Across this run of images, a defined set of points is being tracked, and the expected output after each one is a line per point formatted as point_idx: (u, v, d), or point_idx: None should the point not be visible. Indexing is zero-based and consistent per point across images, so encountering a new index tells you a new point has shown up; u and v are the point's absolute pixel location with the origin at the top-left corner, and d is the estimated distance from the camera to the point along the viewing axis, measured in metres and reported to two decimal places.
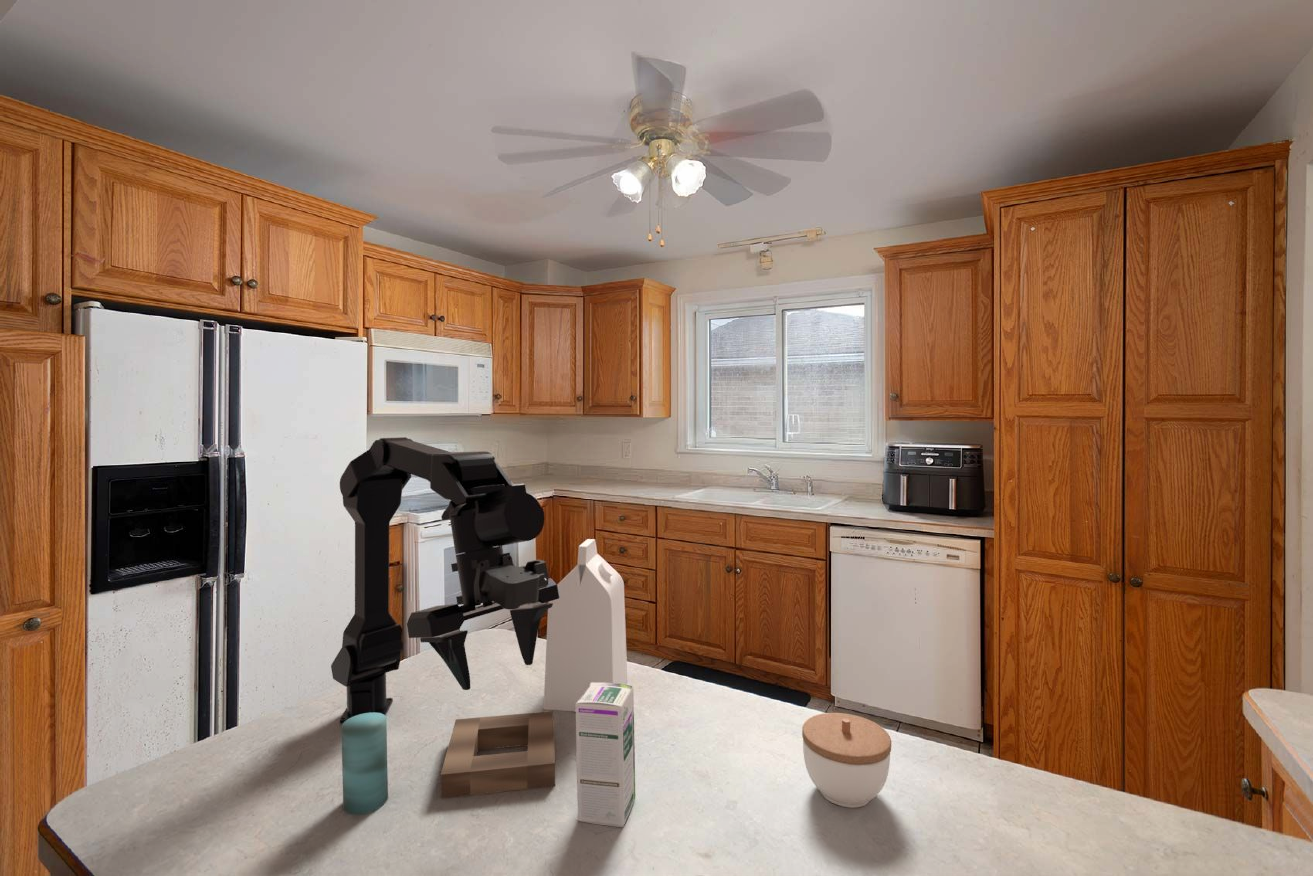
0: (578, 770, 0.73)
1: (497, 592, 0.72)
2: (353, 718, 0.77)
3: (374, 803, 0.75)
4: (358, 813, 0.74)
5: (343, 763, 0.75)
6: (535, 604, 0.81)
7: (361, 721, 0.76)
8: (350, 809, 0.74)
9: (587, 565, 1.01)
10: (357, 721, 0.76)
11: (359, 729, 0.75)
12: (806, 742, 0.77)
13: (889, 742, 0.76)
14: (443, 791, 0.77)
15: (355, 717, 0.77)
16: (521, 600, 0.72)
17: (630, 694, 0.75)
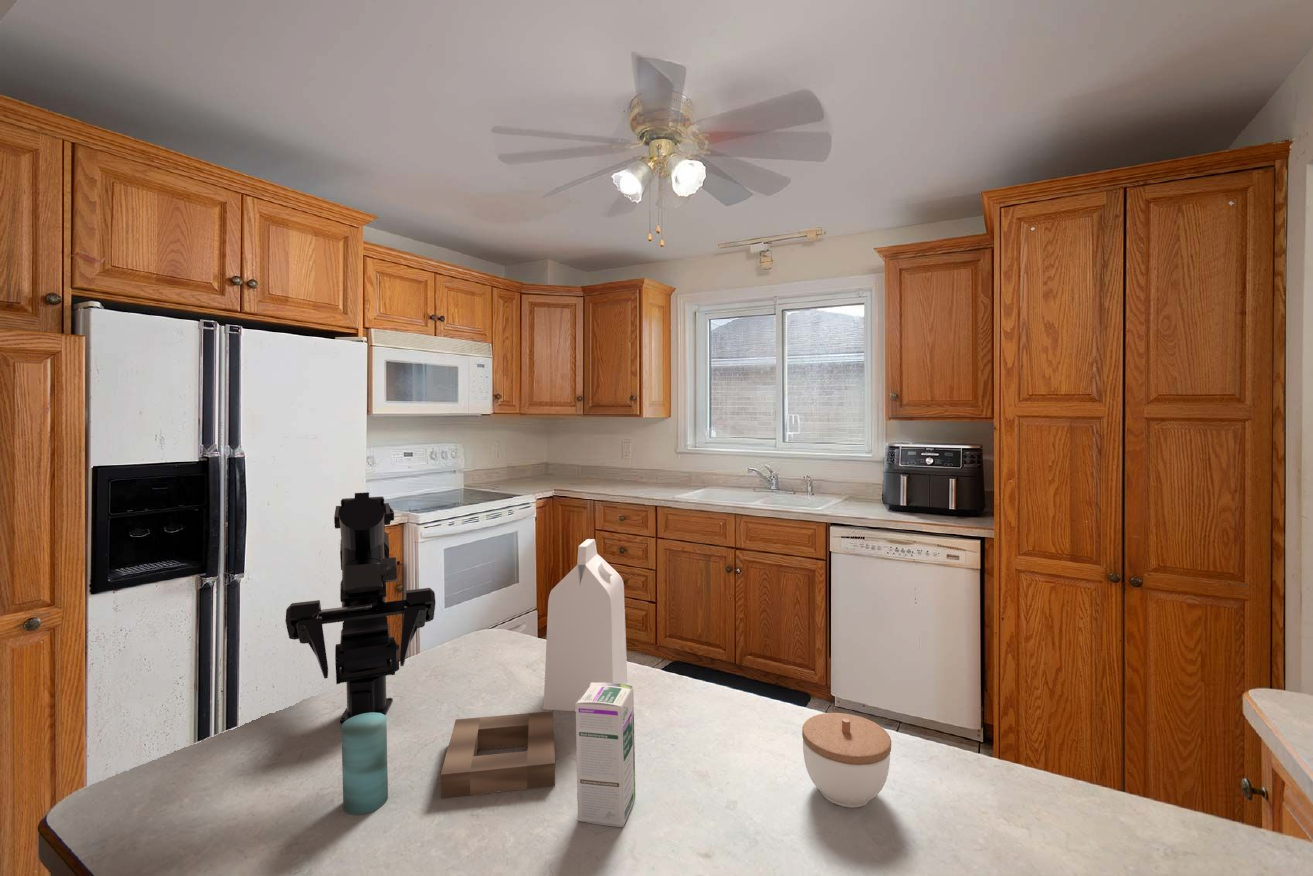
0: (578, 770, 0.73)
1: None
2: (353, 718, 0.77)
3: (374, 803, 0.75)
4: (358, 813, 0.74)
5: (343, 763, 0.75)
6: None
7: (361, 721, 0.76)
8: (350, 809, 0.74)
9: (587, 565, 1.01)
10: (357, 721, 0.76)
11: (359, 729, 0.75)
12: (806, 742, 0.77)
13: (889, 742, 0.76)
14: (443, 791, 0.77)
15: (355, 717, 0.77)
16: (357, 582, 0.83)
17: (630, 694, 0.75)
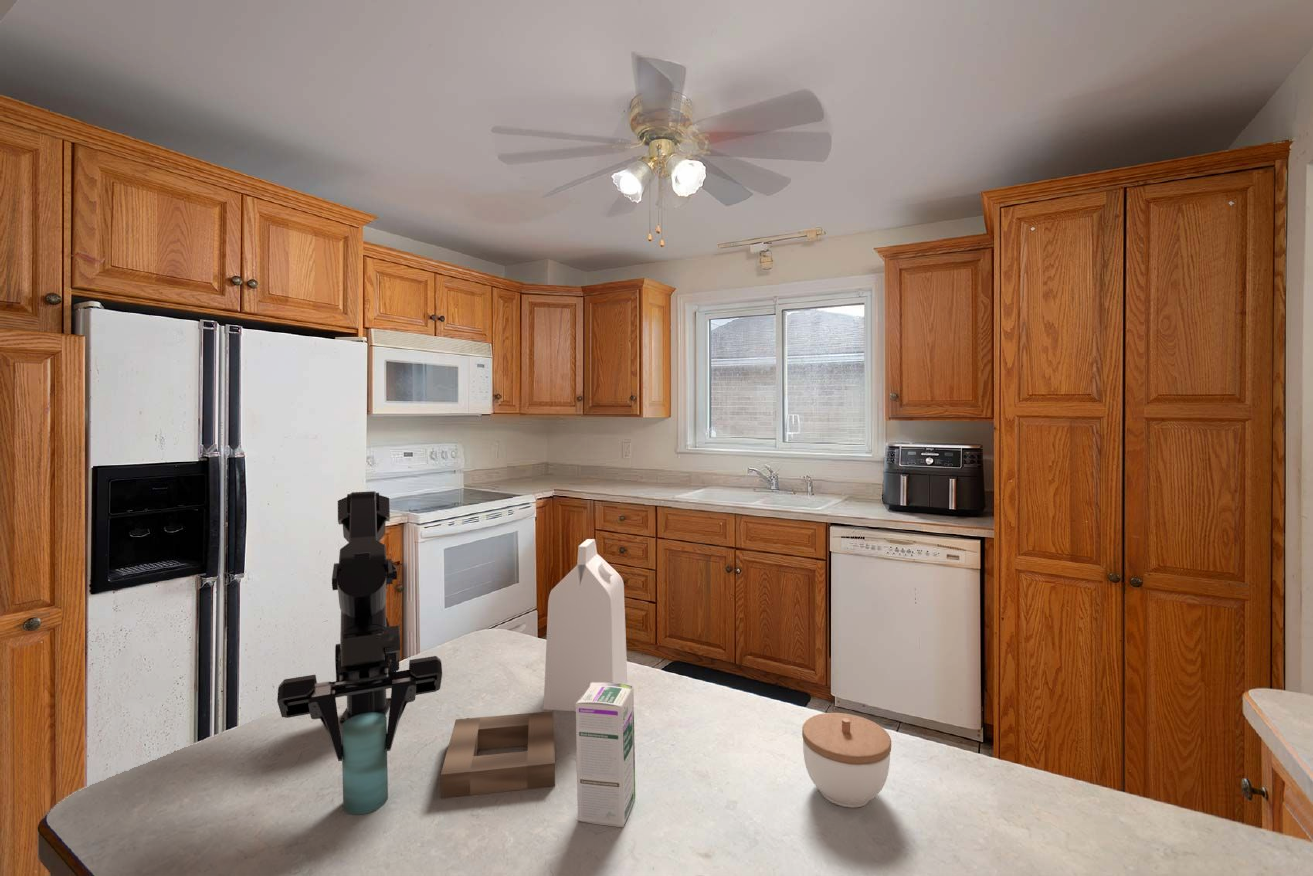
0: (578, 770, 0.73)
1: None
2: (353, 718, 0.77)
3: (374, 803, 0.75)
4: (358, 813, 0.74)
5: (343, 763, 0.75)
6: None
7: (361, 721, 0.76)
8: (350, 809, 0.74)
9: (587, 565, 1.01)
10: (357, 721, 0.76)
11: (359, 729, 0.75)
12: (806, 742, 0.77)
13: (889, 742, 0.76)
14: (443, 791, 0.77)
15: (355, 717, 0.77)
16: (356, 656, 0.75)
17: (630, 694, 0.75)
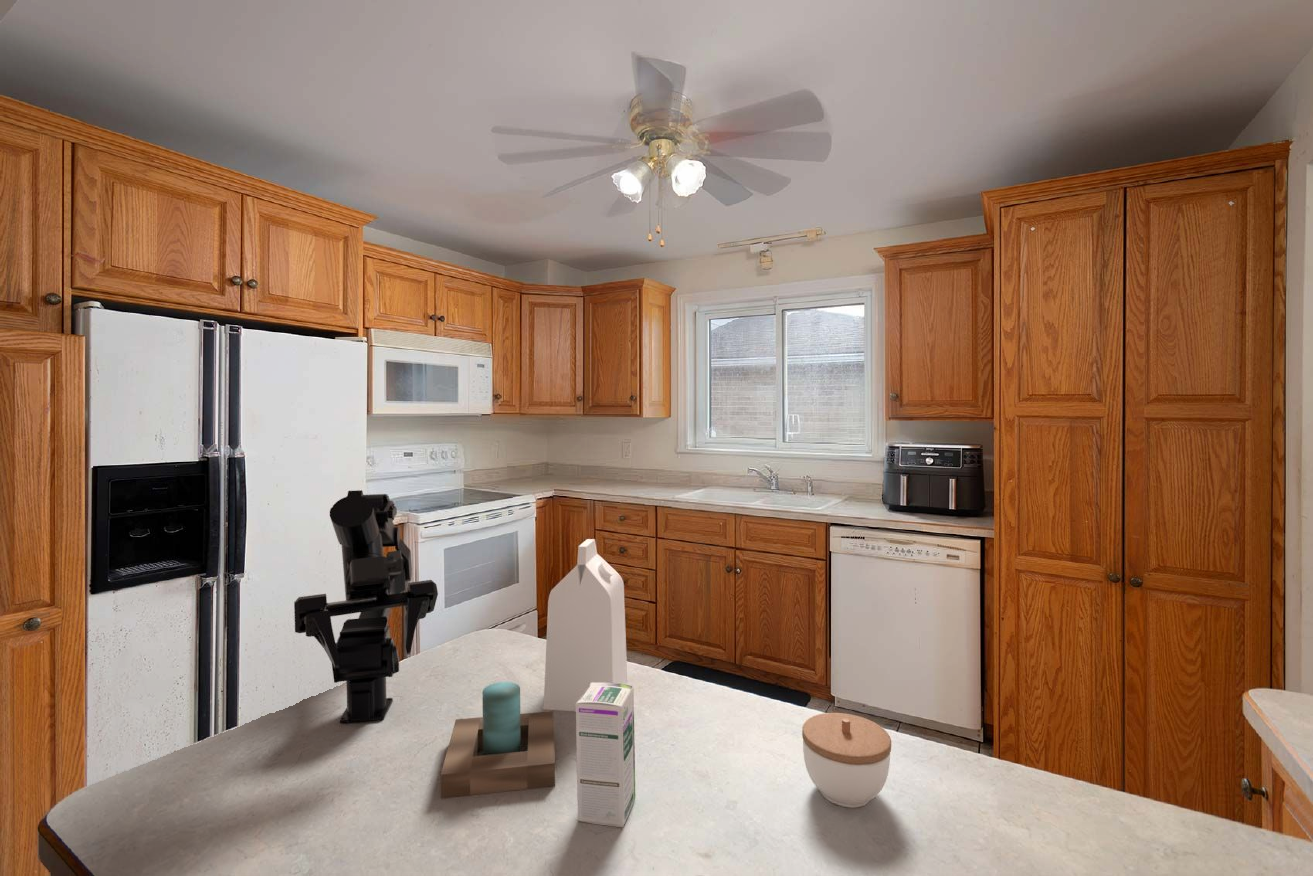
0: (578, 770, 0.73)
1: (350, 574, 0.87)
2: (486, 691, 0.85)
3: None
4: None
5: (494, 728, 0.83)
6: None
7: (497, 690, 0.85)
8: None
9: (587, 565, 1.01)
10: (494, 691, 0.85)
11: (507, 694, 0.84)
12: (806, 742, 0.77)
13: (889, 742, 0.76)
14: (443, 791, 0.77)
15: (486, 689, 0.85)
16: (366, 574, 0.86)
17: (630, 694, 0.75)
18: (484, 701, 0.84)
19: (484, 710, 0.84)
